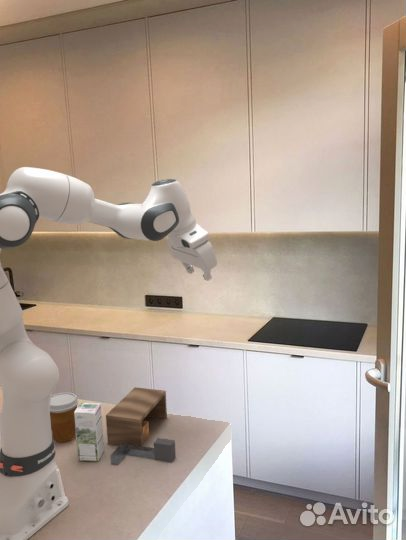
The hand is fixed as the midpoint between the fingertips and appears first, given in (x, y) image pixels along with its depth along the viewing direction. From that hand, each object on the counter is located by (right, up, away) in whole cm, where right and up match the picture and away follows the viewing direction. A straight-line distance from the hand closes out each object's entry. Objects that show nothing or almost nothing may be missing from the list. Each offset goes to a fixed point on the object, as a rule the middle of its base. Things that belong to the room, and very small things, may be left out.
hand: (199, 275), depth 142 cm
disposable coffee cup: (-40, -48, +2) cm, 62 cm away
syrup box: (-29, -49, -9) cm, 58 cm away
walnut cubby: (-18, -46, +4) cm, 50 cm away
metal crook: (-15, -49, -12) cm, 53 cm away
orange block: (-17, -47, +1) cm, 50 cm away
